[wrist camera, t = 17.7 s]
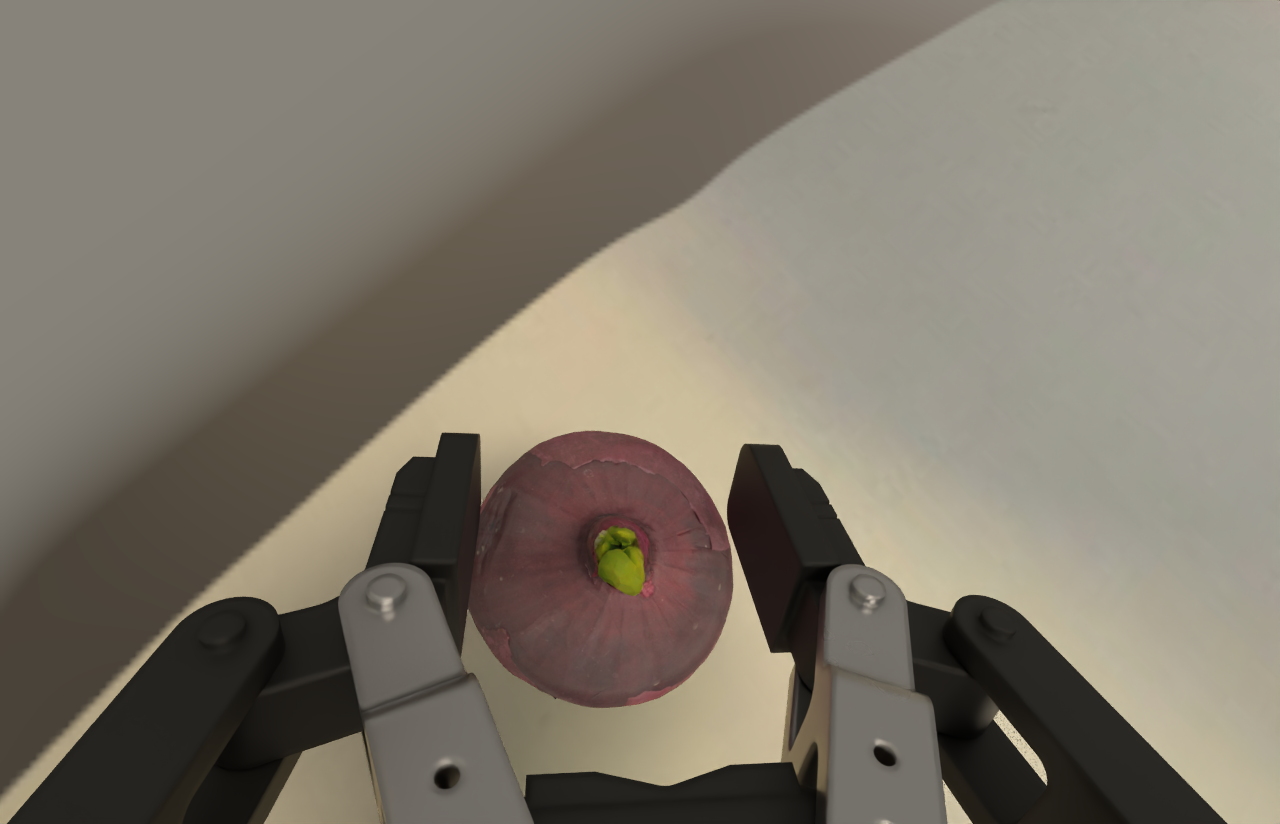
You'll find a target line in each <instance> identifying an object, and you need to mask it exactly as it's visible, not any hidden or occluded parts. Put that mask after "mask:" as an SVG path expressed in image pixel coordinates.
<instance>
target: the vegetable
mask: <svg viewBox="0 0 1280 824" xmlns="http://www.w3.org/2000/svg"><path fill="white" fill-rule="evenodd" d="M732 592H733V573H732V555H731V548H730V544H729V540H728V536H727V531H726V527H725V525H724V523H723V520H722V518H721V516H720V514H719V512H718V510H717V508H716V506H715V504H714V502H713V500H712V499H711V497H710V496H709V494H708V493H707V491H706V490H705V489H704V487H703V486H702V484H701V483H700V482H699V480H698V479H697V478H696V477H695V475H694V474H693V473H692V472H691V471H690V470H689V469H688V468H687V467H686V466H685V465H684V464H682V463H681V462H680V461H678V460H677V459H676V458H675V457H673V456H672V455H671V454H669V453H668V452H667V451H665V450H664V449H662V448H660V447H659V446H657V445H655V444H653V443H650V442H648V441H646V440H643V439H640V438H637V437H634V436H630V435H626V434H619V433H610V432H601V431H582V432H573V433H569V434H565V435H561V436H558V437H554V438H552V439H549V440H547V441H545V442H542V443H540V444H538V445H536V446H535V447H533V448H532V449H531V450H529V451H528V452H526V453H525V454H524V455H523V456H522V457H520V458H519V459H518V460H517V461H516V462H515V463H513V464H512V465H511V466H510V467H509V468H508V469H507V470H506V471H505V472H504V473H503V475H502V476H501V477H500V478H499V480H498V481H497V482H496V483H495V485H494V486H493V487H492V488H491V490H490V491H489V493H488V495H487V497H486V498H485V500H484V502H483V504H482V506H481V508H480V521H479V529H478V536H477V543H476V551H475V558H474V565H473V572H472V580H471V587H470V594H469V602H468V607H469V610H470V613H471V616H472V618H473V620H474V623H475V625H476V627H477V629H478V631H479V633H480V634H481V636H482V637H483V639H484V641H485V642H486V644H487V645H488V647H489V648H490V650H491V652H492V653H493V654H494V655H495V657H496V658H497V659H498V660H499V661H500V663H501V664H502V665H503V666H504V667H505V668H506V669H507V670H508V671H509V672H511V673H512V674H513V675H515V676H517V677H518V678H520V679H522V680H524V681H525V682H527V683H529V684H530V685H532V686H534V687H536V688H537V689H539V690H540V691H542V692H545V693H547V694H549V695H551V696H553V697H554V698H555V699H556V698H558V699H561V700H564V701H567V702H570V703H574V704H577V705H581V706H586V707H593V708H610V707H622V706H629V705H637V704H641V703H644V702H648V701H651V700H654V699H657V698H660V697H661V696H663V695H665V694H667V693H668V692H670V691H672V690H673V689H675V688H677V687H678V686H679V685H681V684H682V683H683V682H684V681H685V680H687V679H688V678H689V677H690V676H691V675H692V674H693V673H694V672H695V670H696V669H697V668H698V667H699V666H700V665H701V664H702V663H703V662H704V661H705V660H706V658H707V657H708V655H709V654H710V653H711V651H712V650H713V648H714V646H715V644H716V642H717V640H718V638H719V636H720V634H721V632H722V629H723V627H724V624H725V622H726V617H727V614H728V611H729V607H730V603H731V599H732Z"/></svg>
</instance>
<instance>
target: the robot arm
mask: <svg viewBox="0 0 1280 824" xmlns="http://www.w3.org/2000/svg"><path fill="white" fill-rule="evenodd" d="M480 507H481V452H480V434H469V433H442V434H441V437H440V441H439V445H438V449H437V453H436V457H412V458H411V459H410V460H409V461H408V462H407V463H406V464H405V465H404V466H403V467H402V468H401V469H400V470H399V471H398V472H397V473H396V476H395V479H394V482H393V485H392V489H391V494H390V495H389V498H388V501H387V504H386V509H385V511H384V513H383V516H382V519H381V522H380V525H379V528H378V531H377V534H376V537H375V540H374V544H373V547H372V550H371V553H370V556H369V559H368V562H367V565H366V568H365V570H364V571H362V572H360V573H359V574H357V575H356V576H354V577H353V578H352V579H351V580H350V581H349V582H348V583H347V584H346V585H345V586H344V588H343V590H342V591H341V594H340V596H338V597H336V598H334V599H332V600H330V601H328V602H325V603H323V604H320V605H316V606H313V607H309V608H305V609H301V610H297V611H293V612H289V613H285V614H281V615H278V614H277V612H276V610H275V609H274V607H273V606H272V605H271V604H269V603H268V602H266V601H264V600H261V599H258V598H253V597H233V598H227V599H223V600H219V601H216V602H213V603H211V604H208V605H206V606H204V607H202V608H200V609H198V610H196V611H195V612H193V613H192V614H190V615H189V616H187V617H186V618H185V619H184V620H182V621H181V622H180V623H179V624H178V625H177V626H176V627H175V629H174V630H173V631H172V632H171V633H170V634H169V636H168V637H167V638H166V639H165V640H164V641H163V643H162V644H161V645H160V646H159V647H158V648H157V650H156V651H155V652H154V653H153V654H152V655H151V657H150V658H149V659H148V660H147V661H146V662H145V664H144V665H143V666H142V667H141V668H140V669H139V670H138V672H137V673H136V674H135V675H134V676H133V677H132V679H131V680H130V681H129V682H128V683H127V684H126V686H125V687H124V688H123V689H122V690H121V691H120V693H119V694H118V695H117V696H116V697H115V698H114V700H113V701H112V702H111V703H110V704H109V705H108V707H107V708H106V709H105V710H104V711H103V712H102V714H101V715H100V716H99V717H98V718H97V719H96V721H95V722H94V723H93V724H92V725H91V726H90V728H89V729H88V730H87V731H86V732H85V733H84V735H83V736H82V737H81V738H80V739H79V740H78V742H77V743H76V744H75V745H74V746H73V747H72V749H71V750H70V751H69V752H68V753H67V754H66V756H65V757H64V758H63V759H62V760H61V761H60V763H59V764H58V765H57V766H56V767H55V768H54V770H53V771H52V772H51V773H50V774H49V775H48V777H47V778H46V779H45V780H44V781H43V782H42V784H41V785H40V786H39V787H38V788H37V789H36V790H35V792H34V793H33V794H32V795H31V796H30V797H29V799H28V800H27V801H26V802H25V803H24V804H23V806H22V807H21V808H20V809H19V810H18V811H17V813H16V814H15V815H14V816H13V817H12V818H11V820H10V821H9V822H8V823H7V824H264V822H265V820H266V819H267V817H268V815H269V813H270V811H271V809H272V807H273V805H274V804H275V802H276V800H277V798H278V796H279V794H280V792H281V791H282V789H283V787H284V785H285V783H286V781H287V779H288V778H289V776H290V774H291V772H292V770H293V768H294V766H295V765H296V763H297V761H298V759H299V757H300V755H301V753H302V751H305V750H308V749H311V748H314V747H317V746H320V745H323V744H326V743H329V742H332V741H335V740H338V739H340V738H343V737H346V736H349V735H352V734H355V733H358V732H361V734H362V738H363V743H364V748H365V752H366V757H367V762H368V767H369V771H370V776H371V781H372V785H373V790H374V795H375V800H376V804H377V809H378V814H379V818H380V823H381V824H947V815H946V807H945V799H944V790H943V782H942V779H943V780H944V782H945V783H946V785H947V786H948V788H949V789H950V791H951V792H952V794H953V795H954V797H955V798H956V800H957V801H958V802H959V804H960V805H961V807H962V808H963V810H964V811H965V813H966V814H967V816H968V817H969V819H970V820H971V822H972V823H973V824H1227V823H1226V822H1225V821H1224V820H1223V819H1222V818H1221V817H1220V816H1219V815H1218V814H1217V813H1216V812H1215V811H1214V810H1213V809H1212V808H1211V807H1210V805H1209V804H1208V803H1207V802H1206V801H1205V800H1204V799H1203V798H1202V797H1201V796H1200V795H1199V794H1198V793H1197V792H1196V791H1195V790H1194V789H1193V788H1192V787H1191V786H1190V785H1189V784H1188V783H1187V782H1186V781H1185V780H1184V779H1183V778H1182V777H1181V776H1180V775H1179V774H1178V773H1177V772H1176V771H1175V770H1174V769H1173V768H1172V767H1171V766H1170V765H1169V764H1168V763H1167V762H1166V761H1165V760H1164V759H1163V758H1162V757H1161V756H1160V755H1159V754H1158V753H1157V752H1156V751H1155V750H1154V749H1153V748H1152V747H1151V746H1150V744H1149V743H1148V742H1147V741H1146V740H1145V739H1144V738H1143V737H1142V736H1141V735H1140V734H1139V733H1138V732H1137V731H1136V730H1135V729H1134V728H1133V727H1132V726H1131V725H1130V724H1129V723H1128V722H1127V721H1126V720H1125V719H1124V718H1123V717H1122V716H1121V715H1120V714H1119V713H1118V712H1117V711H1116V710H1115V709H1114V708H1113V707H1112V706H1111V705H1110V704H1109V703H1108V702H1107V701H1106V700H1105V699H1104V698H1103V697H1102V696H1101V695H1100V694H1099V693H1098V692H1097V691H1096V690H1095V689H1094V688H1093V687H1092V686H1091V684H1090V683H1089V682H1088V681H1087V680H1086V679H1085V678H1084V677H1083V676H1082V675H1081V674H1080V673H1079V672H1078V671H1077V670H1076V669H1075V668H1074V667H1073V666H1072V665H1071V664H1070V663H1069V662H1068V661H1067V660H1066V659H1065V658H1064V657H1063V656H1062V655H1061V654H1060V653H1059V652H1058V651H1057V650H1056V649H1055V648H1054V647H1053V646H1052V645H1051V644H1050V643H1049V642H1048V641H1047V640H1046V639H1045V638H1044V637H1043V636H1042V635H1041V634H1040V633H1039V632H1038V631H1037V630H1036V629H1035V628H1034V627H1033V626H1032V624H1031V623H1030V622H1029V621H1028V620H1027V619H1025V618H1024V617H1023V616H1022V615H1021V614H1020V613H1019V612H1017V611H1016V610H1015V609H1013V608H1011V607H1010V606H1008V605H1006V604H1005V603H1003V602H1001V601H998V600H996V599H993V598H990V597H986V596H981V595H968V596H964V597H962V598H960V599H959V600H958V601H957V602H956V604H955V605H954V607H953V609H952V611H951V612H948V611H944V610H940V609H936V608H932V607H928V606H924V605H920V604H917V603H913V602H910V601H907V600H906V599H905V596H904V594H903V592H902V591H901V589H900V588H899V587H898V586H897V585H896V584H895V583H894V582H893V581H892V580H891V579H890V578H888V577H887V576H886V575H884V574H882V573H881V572H879V571H877V570H875V569H872V568H869V567H866V566H865V565H864V563H863V561H862V559H861V557H860V556H859V554H858V552H857V550H856V548H855V547H854V545H853V543H852V541H851V539H850V538H849V536H848V534H847V532H846V530H845V529H844V527H843V525H842V523H841V521H840V520H839V519H837V514H836V512H835V511H834V509H833V507H832V505H829V500H828V498H827V496H826V494H825V493H824V491H823V489H822V487H821V485H820V484H819V483H818V482H817V481H816V480H815V479H813V478H812V477H811V476H810V475H809V474H808V473H807V472H806V471H804V470H803V469H797V468H792V467H791V465H790V463H789V461H788V459H787V457H786V455H785V453H784V451H783V449H782V448H781V447H780V446H779V445H765V444H744V445H743V446H742V448H741V451H740V454H739V458H738V462H737V466H736V470H735V474H734V478H733V482H732V486H731V490H730V494H729V498H728V504H727V520H728V526H729V530H730V533H731V536H732V539H733V542H734V545H735V547H736V550H737V553H738V556H739V559H740V562H741V565H742V568H743V571H744V574H745V577H746V580H747V583H748V586H749V589H750V592H751V595H752V598H753V601H754V604H755V607H756V610H757V613H758V616H759V619H760V622H761V625H762V628H763V631H764V634H765V637H766V640H767V643H768V646H769V649H770V652H771V653H784V652H791V653H792V656H793V659H794V662H795V664H794V667H793V669H792V672H791V675H790V680H789V690H788V700H787V710H786V719H785V729H784V739H783V749H782V758H781V763H761V764H741V765H729V766H726V767H723V768H720V769H717V770H714V771H712V772H709V773H706V774H703V775H700V776H697V777H694V778H692V779H689V780H686V781H683V782H680V783H677V784H674V785H670V786H659V785H654V784H650V783H645V782H640V781H636V780H631V779H627V778H622V777H617V776H613V775H608V774H604V773H599V772H578V773H558V774H537V775H526V791H525V797H524V796H523V794H522V791H521V789H520V786H519V783H518V781H517V778H516V776H515V773H514V771H513V768H512V765H511V763H510V760H509V758H508V755H507V753H506V750H505V747H504V745H503V742H502V740H501V737H500V735H499V732H498V729H497V727H496V724H495V722H494V719H493V717H492V714H491V711H490V709H489V706H488V704H487V701H486V699H485V696H484V693H483V691H482V688H481V686H480V684H479V682H478V680H477V678H476V676H475V675H474V674H473V673H470V674H467V673H466V671H465V669H464V666H463V664H462V661H461V653H462V645H463V638H464V631H465V623H466V616H467V609H468V602H469V594H470V587H471V580H472V572H473V565H474V558H475V551H476V543H477V536H478V529H479V521H480ZM999 709H1000V711H1001V712H1002V713H1003V714H1004V715H1005V717H1006V718H1007V719H1008V720H1009V722H1010V723H1011V724H1012V725H1013V726H1014V728H1015V729H1016V730H1017V731H1018V732H1019V734H1020V735H1021V736H1022V737H1023V738H1024V740H1025V741H1026V742H1027V743H1028V745H1029V746H1030V747H1031V748H1032V749H1033V751H1034V752H1035V753H1036V754H1037V756H1038V757H1039V758H1040V760H1041V762H1042V764H1043V766H1044V768H1045V771H1046V774H1047V786H1046V784H1045V783H1044V782H1043V781H1042V779H1041V778H1040V777H1039V776H1038V774H1037V773H1036V772H1035V771H1034V769H1033V768H1032V767H1031V766H1030V765H1029V763H1028V762H1027V761H1026V760H1025V758H1024V757H1023V756H1022V755H1021V753H1020V752H1019V751H1018V750H1017V748H1016V747H1015V746H1014V745H1013V743H1012V742H1011V741H1010V740H1009V738H1008V737H1007V736H1006V735H1005V733H1004V732H1003V731H1002V730H1001V729H1000V727H999V726H998V725H997V724H996V722H995V721H994V720H993V718H994V717H995V715H996V714H997V712H998V711H999Z"/></svg>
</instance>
